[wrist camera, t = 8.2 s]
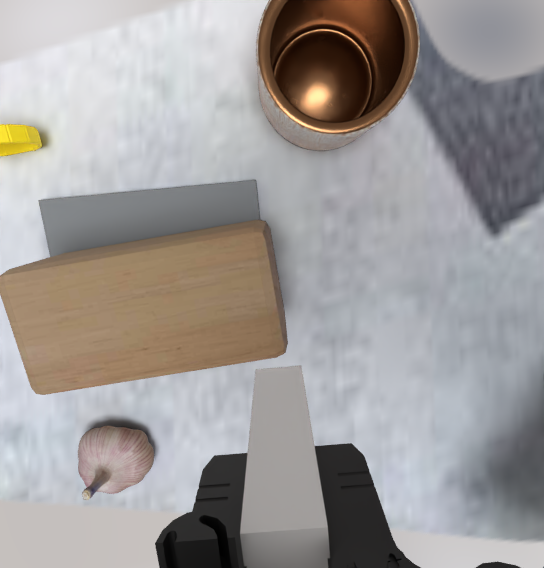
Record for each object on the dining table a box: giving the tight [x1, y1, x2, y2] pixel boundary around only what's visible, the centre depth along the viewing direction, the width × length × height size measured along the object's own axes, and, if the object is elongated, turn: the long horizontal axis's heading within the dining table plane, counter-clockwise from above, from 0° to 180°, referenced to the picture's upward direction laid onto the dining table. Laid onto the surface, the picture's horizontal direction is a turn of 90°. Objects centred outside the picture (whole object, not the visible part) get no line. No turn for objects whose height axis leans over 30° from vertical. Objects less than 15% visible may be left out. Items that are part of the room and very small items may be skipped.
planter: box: [256, 0, 420, 151], centre depth 31 cm, size 11×11×10 cm
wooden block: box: [0, 220, 288, 395], centre depth 34 cm, size 10×10×20 cm
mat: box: [38, 180, 260, 257], centre depth 39 cm, size 20×16×1 cm
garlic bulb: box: [78, 426, 154, 500], centre depth 40 cm, size 8×7×8 cm
